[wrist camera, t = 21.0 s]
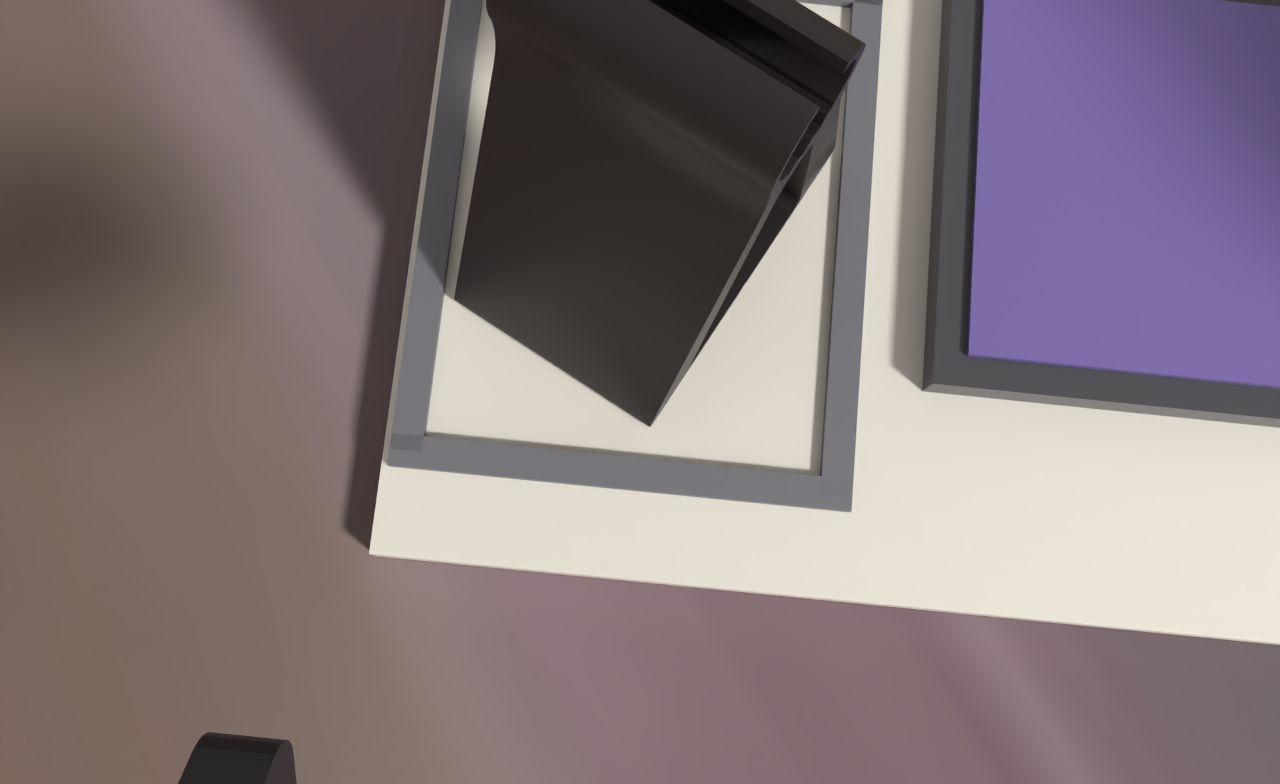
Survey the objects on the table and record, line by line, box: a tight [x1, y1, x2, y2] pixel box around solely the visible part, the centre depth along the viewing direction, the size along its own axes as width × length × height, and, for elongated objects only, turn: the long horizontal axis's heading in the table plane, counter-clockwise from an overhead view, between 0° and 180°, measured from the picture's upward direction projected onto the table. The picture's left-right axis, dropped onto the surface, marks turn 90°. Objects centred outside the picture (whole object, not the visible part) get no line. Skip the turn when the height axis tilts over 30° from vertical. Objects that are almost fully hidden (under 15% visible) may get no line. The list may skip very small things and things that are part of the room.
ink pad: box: [922, 0, 1280, 428], centre depth 32 cm, size 10×12×1 cm
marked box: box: [387, 0, 883, 512], centre depth 31 cm, size 12×15×1 cm
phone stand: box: [454, 0, 866, 427], centre depth 26 cm, size 9×6×12 cm, turn 146°
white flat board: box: [369, 0, 1280, 645], centre depth 32 cm, size 24×19×1 cm
